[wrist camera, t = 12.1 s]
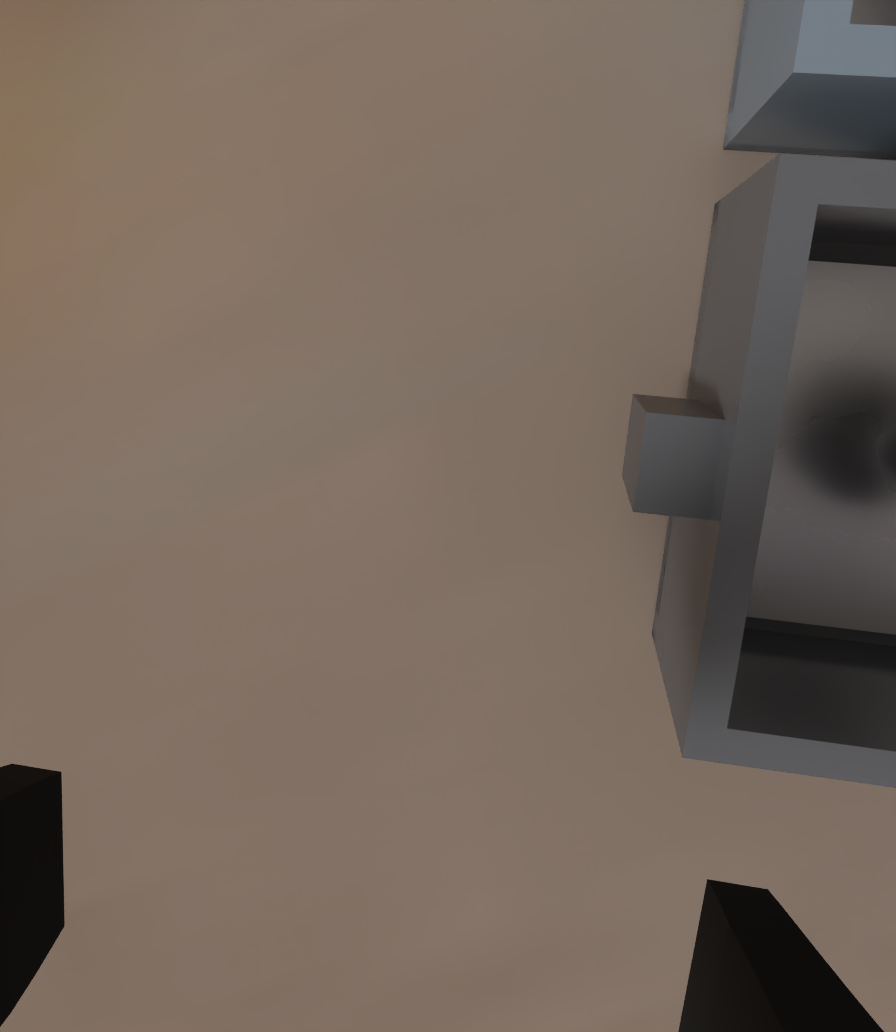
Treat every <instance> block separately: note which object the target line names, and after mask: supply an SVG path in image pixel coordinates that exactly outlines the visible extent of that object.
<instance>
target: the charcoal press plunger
mask: <svg viewBox="0 0 896 1032" xmlns="http://www.w3.org/2000/svg"><path fill="white" fill-rule="evenodd" d="M746 617H755V618H763V619H771V620H779V621H787V622H796V623H804V624H812V625H820V626H829V627H837V628H845V629H853V630H862V631H870V632H878V633H886V634H894V635H896V267H890V266H876V265H863V264H849V263H835V262H822V261H808V265H807V271H806V277H805V282H804V288H803V294H802V300H801V305H800V311H799V317H798V323H797V328H796V334H795V340H794V346H793V351H792V357H791V363H790V369H789V374H788V380H787V386H786V392H785V397H784V403H783V409H782V415H781V420H780V426H779V432H778V438H777V443H776V449H775V455H774V461H773V466H772V472H771V478H770V484H769V489H768V495H767V501H766V507H765V512H764V518H763V524H762V530H761V535H760V541H759V547H758V553H757V558H756V564H755V570H754V576H753V581H752V587H751V593H750V599H749V604H748V610H747V616H746Z"/></svg>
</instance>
